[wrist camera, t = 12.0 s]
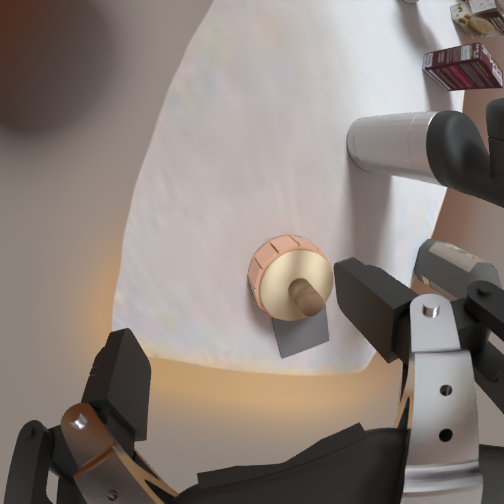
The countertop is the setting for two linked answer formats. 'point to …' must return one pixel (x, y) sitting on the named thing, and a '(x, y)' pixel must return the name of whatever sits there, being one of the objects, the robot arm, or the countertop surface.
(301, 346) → the mat
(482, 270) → the liquor
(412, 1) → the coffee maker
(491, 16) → the coffee box
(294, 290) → the lid
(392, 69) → the countertop surface
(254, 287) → the bowl
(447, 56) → the supplement box
